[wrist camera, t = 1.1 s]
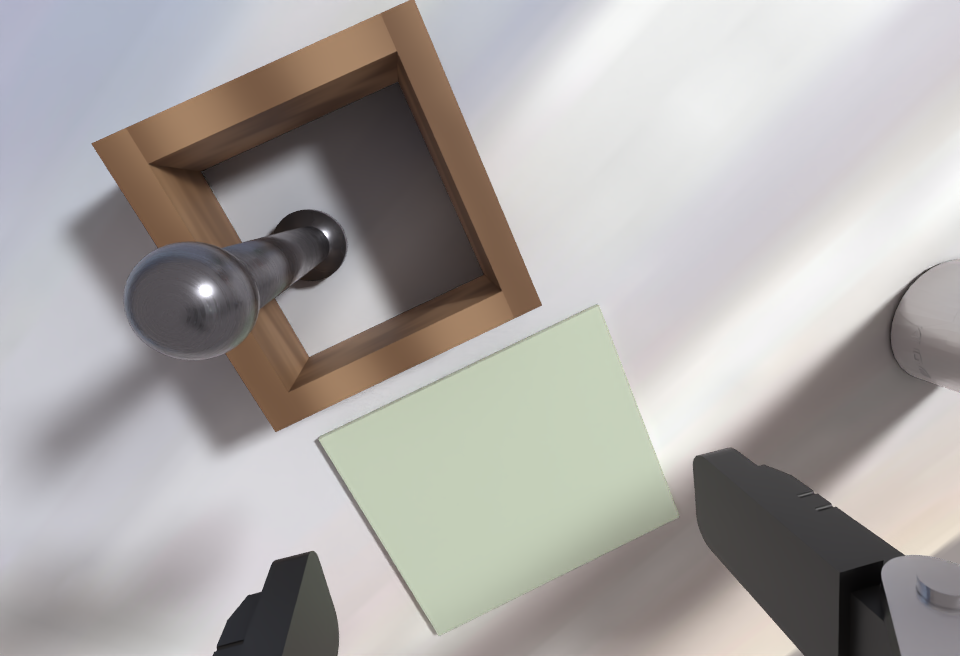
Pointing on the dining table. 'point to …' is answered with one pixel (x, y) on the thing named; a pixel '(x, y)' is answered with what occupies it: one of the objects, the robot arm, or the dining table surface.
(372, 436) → the sage mat
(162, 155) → the walnut frame
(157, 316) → the metal dumbbell
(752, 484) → the robot arm
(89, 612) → the dining table surface
